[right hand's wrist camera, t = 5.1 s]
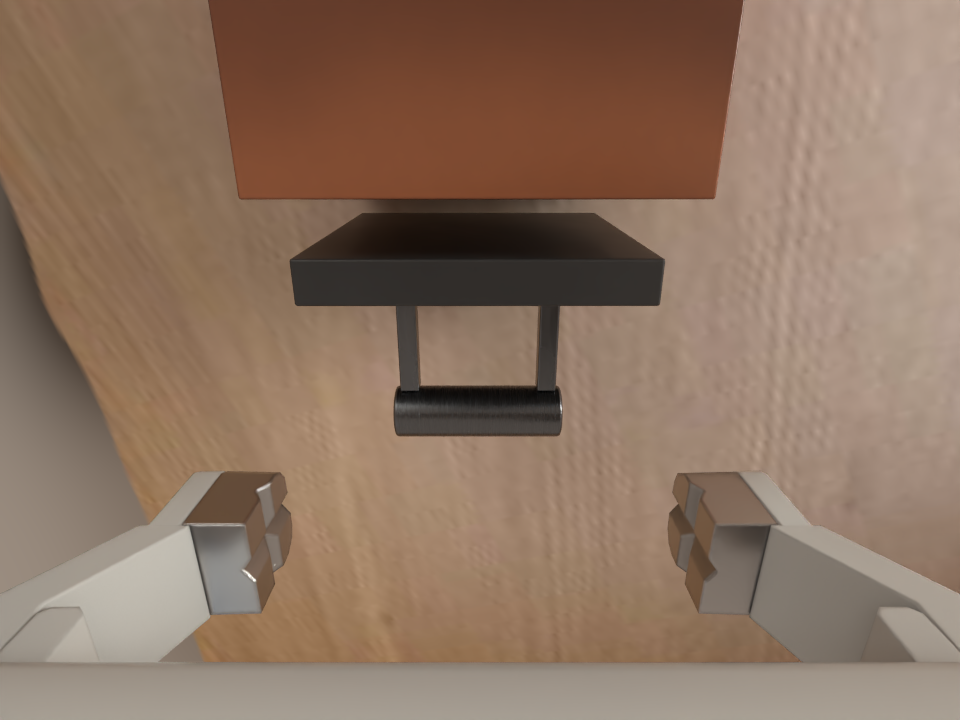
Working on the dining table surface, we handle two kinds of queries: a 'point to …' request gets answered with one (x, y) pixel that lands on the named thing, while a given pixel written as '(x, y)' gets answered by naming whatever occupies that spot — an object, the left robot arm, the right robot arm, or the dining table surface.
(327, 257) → the drawer
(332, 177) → the cabinet
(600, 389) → the dining table surface
